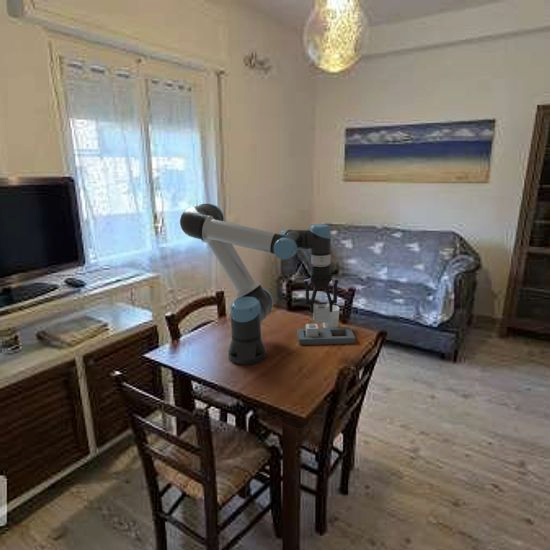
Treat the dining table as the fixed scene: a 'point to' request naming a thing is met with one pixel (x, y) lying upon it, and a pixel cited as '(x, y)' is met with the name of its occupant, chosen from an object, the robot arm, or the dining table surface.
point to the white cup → (333, 318)
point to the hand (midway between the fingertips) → (321, 319)
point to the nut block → (321, 313)
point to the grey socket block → (324, 335)
